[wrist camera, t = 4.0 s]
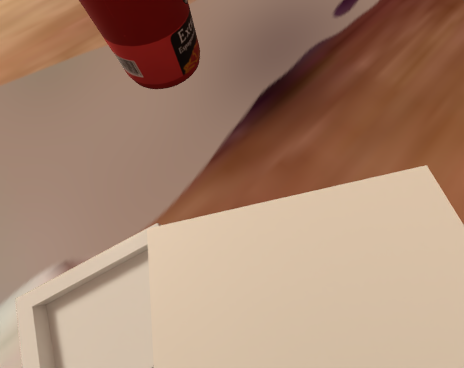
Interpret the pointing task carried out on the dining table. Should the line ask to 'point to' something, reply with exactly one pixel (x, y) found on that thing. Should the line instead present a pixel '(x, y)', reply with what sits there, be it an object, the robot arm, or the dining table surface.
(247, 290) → the two tone block
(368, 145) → the dining table surface
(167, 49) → the canned food
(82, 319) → the white tray
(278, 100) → the dining table surface
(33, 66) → the dining table surface
